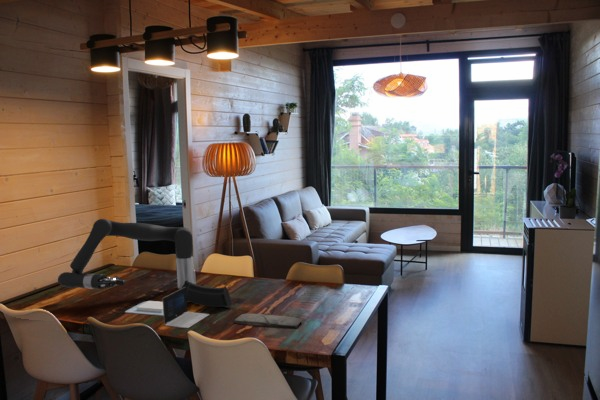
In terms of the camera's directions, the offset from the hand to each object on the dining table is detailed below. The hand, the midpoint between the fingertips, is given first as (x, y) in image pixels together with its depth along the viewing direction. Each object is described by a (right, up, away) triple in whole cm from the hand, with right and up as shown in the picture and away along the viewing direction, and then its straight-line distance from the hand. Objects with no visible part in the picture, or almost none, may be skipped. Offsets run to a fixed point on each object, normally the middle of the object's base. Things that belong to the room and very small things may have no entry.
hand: (124, 282), depth 262 cm
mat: (+15, -12, -3) cm, 20 cm away
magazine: (+40, -11, +1) cm, 42 cm away
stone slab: (+73, -14, -27) cm, 79 cm away
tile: (+10, -11, -2) cm, 15 cm away
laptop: (+36, -14, -21) cm, 44 cm away
